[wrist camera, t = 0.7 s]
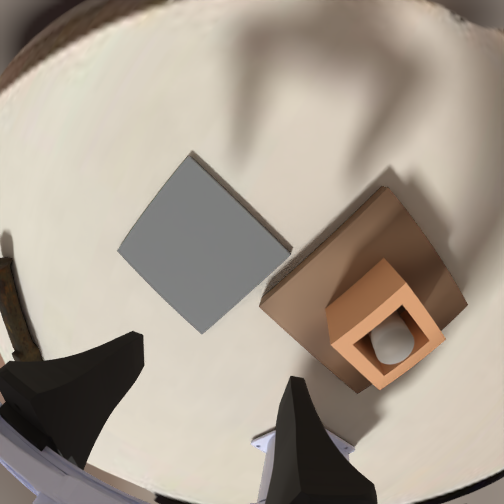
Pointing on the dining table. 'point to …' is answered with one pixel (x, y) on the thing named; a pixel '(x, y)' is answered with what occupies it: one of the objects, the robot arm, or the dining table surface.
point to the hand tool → (15, 317)
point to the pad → (200, 247)
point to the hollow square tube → (373, 313)
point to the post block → (353, 269)
